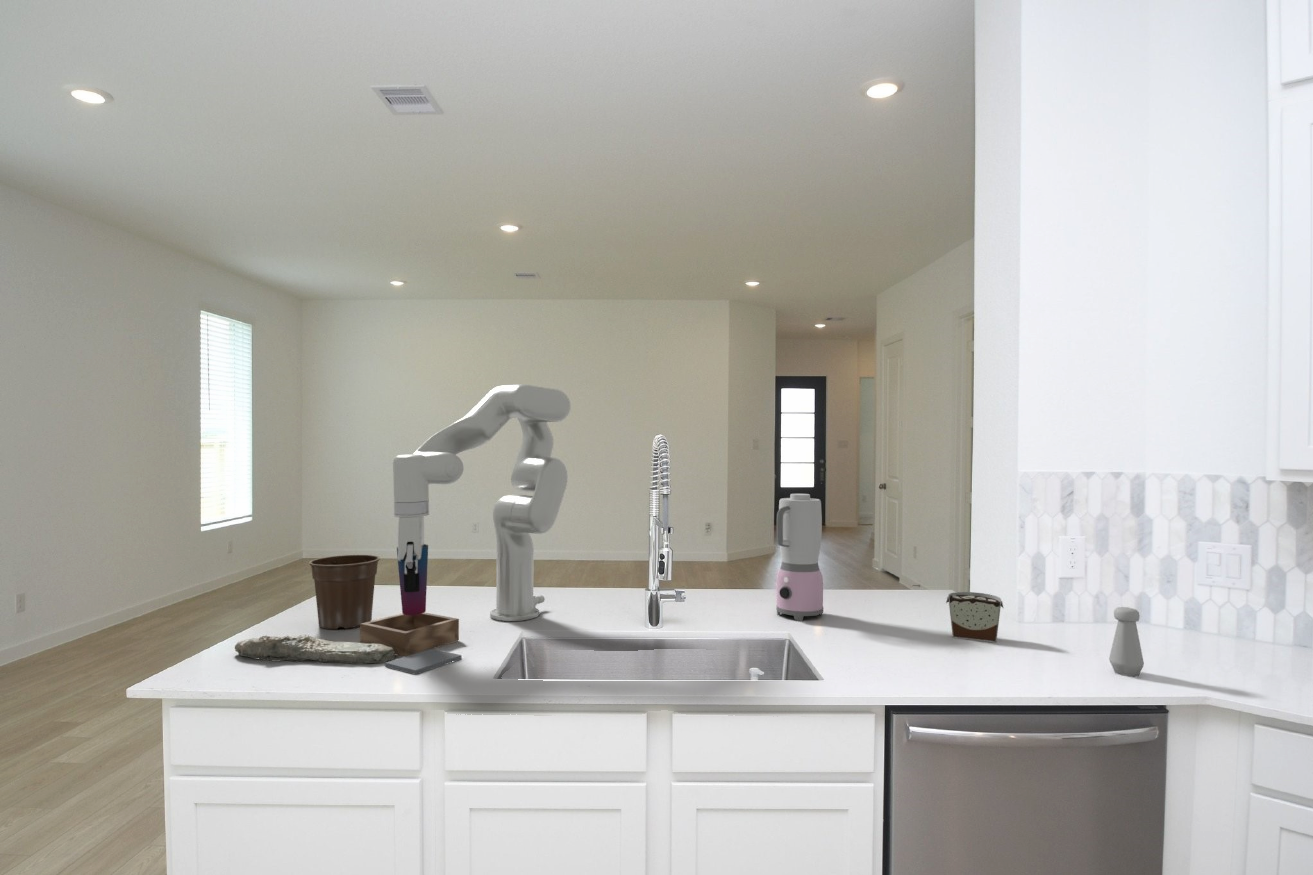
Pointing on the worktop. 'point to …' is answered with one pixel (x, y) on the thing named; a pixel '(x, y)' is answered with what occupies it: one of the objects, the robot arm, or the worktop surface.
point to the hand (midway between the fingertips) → (413, 587)
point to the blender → (799, 556)
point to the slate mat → (423, 661)
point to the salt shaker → (1126, 643)
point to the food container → (974, 615)
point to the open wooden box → (411, 632)
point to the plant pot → (344, 589)
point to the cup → (417, 600)
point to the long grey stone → (313, 650)
